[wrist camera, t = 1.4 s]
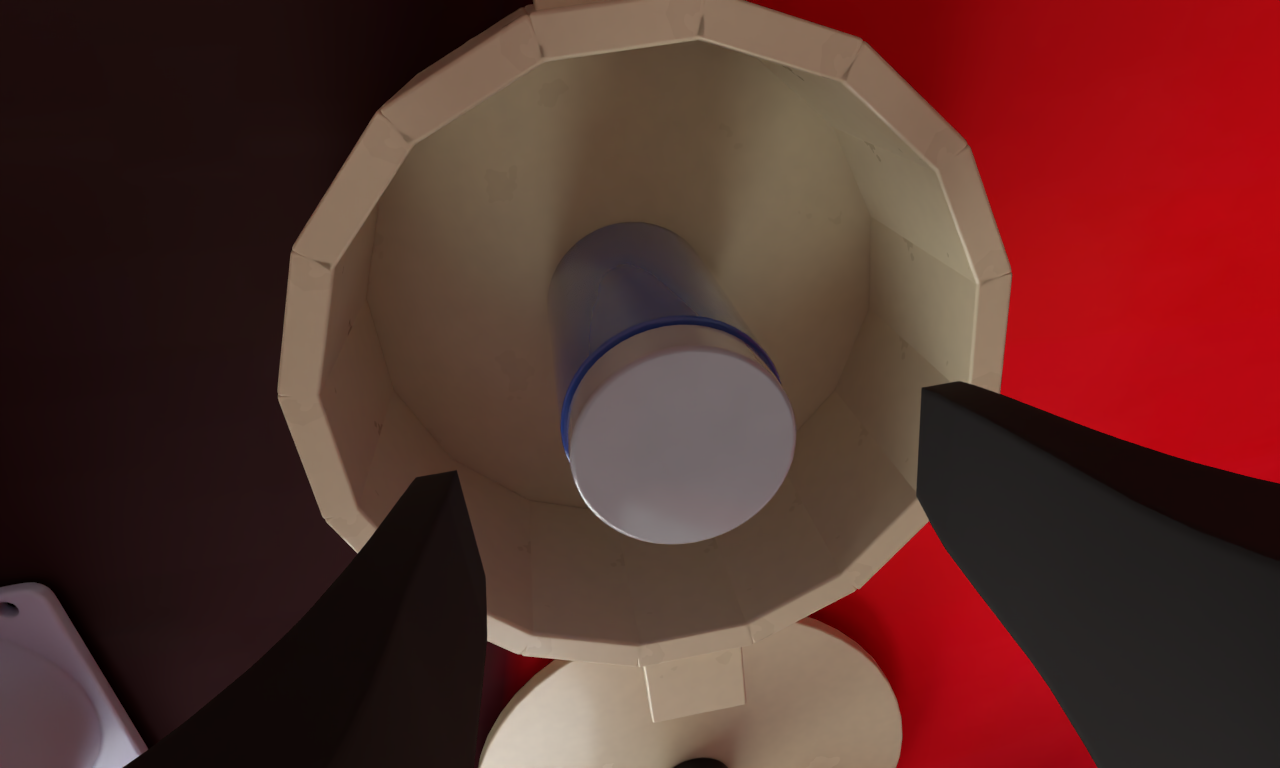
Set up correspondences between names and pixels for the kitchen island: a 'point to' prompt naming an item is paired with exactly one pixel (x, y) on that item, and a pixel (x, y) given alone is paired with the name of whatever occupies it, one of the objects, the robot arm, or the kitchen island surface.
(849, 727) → the pot lid
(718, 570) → the pot
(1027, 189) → the kitchen island surface
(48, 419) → the kitchen island surface
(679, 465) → the salt shaker
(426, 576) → the robot arm
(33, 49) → the kitchen island surface
